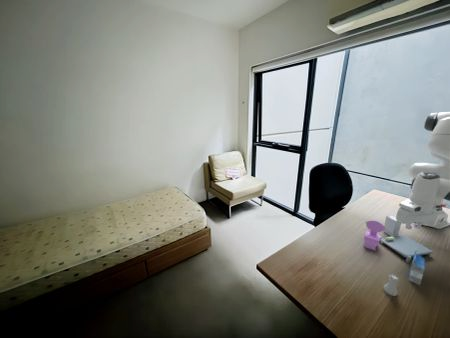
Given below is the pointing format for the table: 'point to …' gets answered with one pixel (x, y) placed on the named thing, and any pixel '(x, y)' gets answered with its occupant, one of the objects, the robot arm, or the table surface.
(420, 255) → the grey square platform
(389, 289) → the rook chess piece
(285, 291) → the table surface
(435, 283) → the table surface
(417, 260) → the label tape box
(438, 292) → the table surface
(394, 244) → the levelling deck
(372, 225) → the toy chair
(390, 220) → the skincare box
